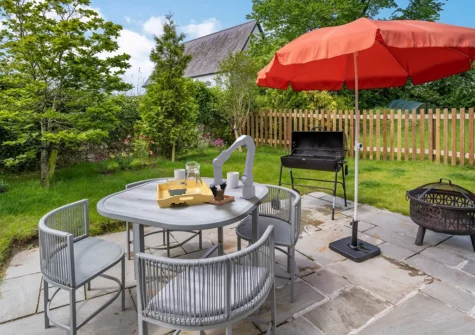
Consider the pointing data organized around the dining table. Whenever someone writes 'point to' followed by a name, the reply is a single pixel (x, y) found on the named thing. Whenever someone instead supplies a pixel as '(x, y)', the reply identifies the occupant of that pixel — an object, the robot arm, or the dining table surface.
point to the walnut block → (219, 195)
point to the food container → (177, 192)
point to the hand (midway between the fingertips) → (218, 195)
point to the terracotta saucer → (226, 200)
